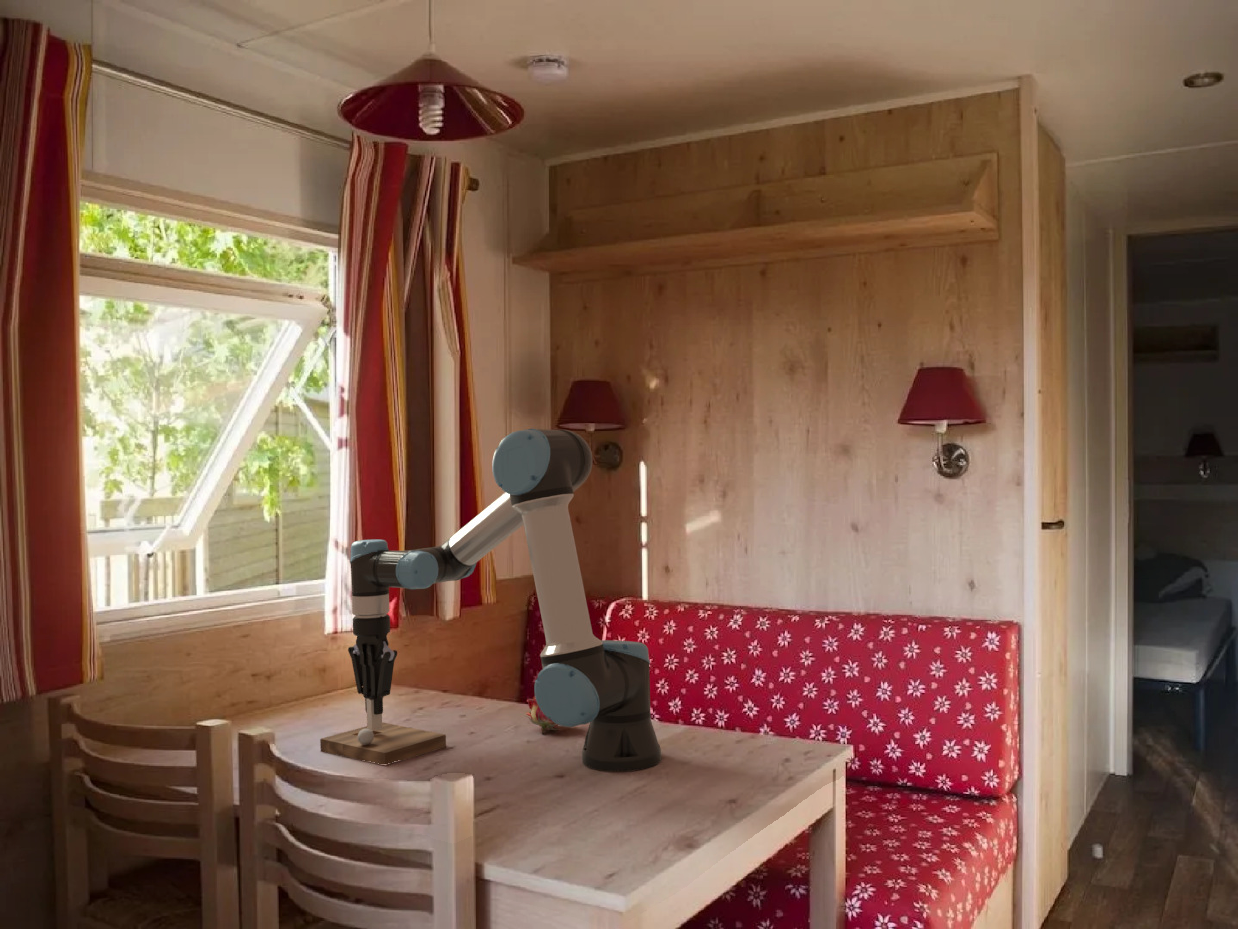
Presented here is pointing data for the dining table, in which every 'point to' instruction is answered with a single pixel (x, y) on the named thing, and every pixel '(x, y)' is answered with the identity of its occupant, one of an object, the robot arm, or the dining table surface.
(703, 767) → the dining table surface
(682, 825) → the dining table surface
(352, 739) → the board
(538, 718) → the flower
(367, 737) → the grey ball
